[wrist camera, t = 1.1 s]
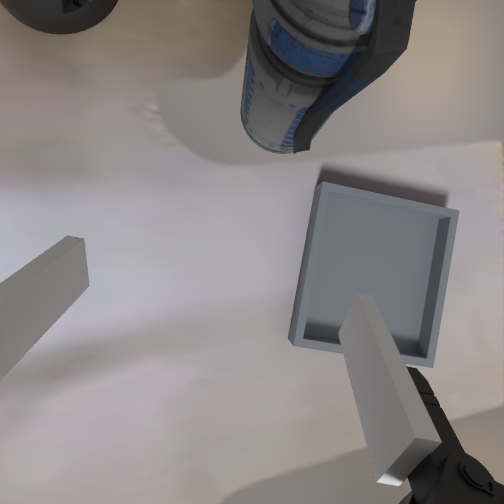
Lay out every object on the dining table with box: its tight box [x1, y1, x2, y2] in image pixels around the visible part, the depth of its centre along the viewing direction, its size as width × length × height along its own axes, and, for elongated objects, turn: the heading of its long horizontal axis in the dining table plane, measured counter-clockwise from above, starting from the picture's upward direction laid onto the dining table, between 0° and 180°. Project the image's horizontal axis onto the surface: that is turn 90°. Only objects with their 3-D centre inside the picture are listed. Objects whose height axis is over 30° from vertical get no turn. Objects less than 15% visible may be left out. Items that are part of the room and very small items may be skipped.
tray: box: [288, 182, 459, 368], centre depth 37 cm, size 20×18×3 cm
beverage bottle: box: [241, 0, 417, 154], centre depth 25 cm, size 10×13×25 cm
